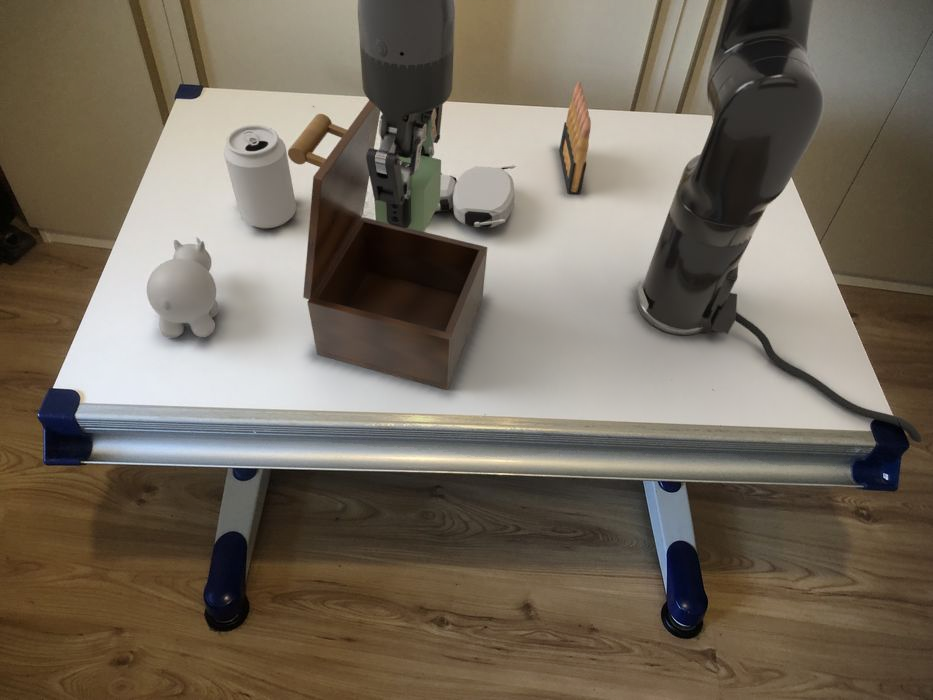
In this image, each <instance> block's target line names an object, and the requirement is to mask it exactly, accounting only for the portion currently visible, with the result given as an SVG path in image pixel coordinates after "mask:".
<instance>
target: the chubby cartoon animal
mask: <svg viewBox="0 0 933 700" xmlns="http://www.w3.org/2000/svg"><path fill="white" fill-rule="evenodd" d="M173 248H174V250H175V251H174V253H173V255H172V259H169V260H166V261H164V262H162V263H160V264H159V265H157V267H155V268H154V269H153V270H152V272H151V273H150V275H149V277H148V280H147V283H146V295H147V300H148V302H149V304H150V306H151V308H152V310H153V311H154V312H156V313H157V314H158V315H159V319H158V327H159V331H160V333H161V334H162V336H164V337H165V338H168V339H173V338H177V337H180V336H181V335H182V334H183V333H184V331H185V325H184V324H188V325H189V327H190V329H191V331H192V333H193V334H194V335H195V336H197V337H199V338H206V337H208V336H210V335H212V334H213V332H214V331H215V329H216V323H215V320H214V319H213V318H214V317H216V316H218V314H219V312H220V306H219V303H218V301H217V300H216V298H217V286H216V282H215V279H214V277H213V276H212V274H211V272H210V271H211V269H212V257H211V254H210V253H209V252H208V250H207V249H206V246H205V242H204V241H203V240H202V241H201V239H200V238H199V237H197V236H196V237H195V243H186V244H182V243H181V242H179V240H177V239H174V240H173Z"/></svg>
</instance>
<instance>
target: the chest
mask: <svg viewBox="0 0 933 700" xmlns="http://www.w3.org/2000/svg"><path fill="white" fill-rule="evenodd" d="M487 258H488V246H484V245H480V244H476V243H473V242H468V241H464V240H460V239H455V238H452V237H447V236H443V235H438V234H435V233H431V232H426V231H424V232H421V231H417V230H413V229H409V228H402V227H398V226H393V225H390V224H389V223H384V222H380V221H376V219H372V218H368V217H364V216H362V217H361V218H360V220H359V222H358V223H357V225H356V227H355V228H354V230H353V231H352V233H351V235H350V236H349V238H348V239H347V241H346V243H345V244H344V246H343V248H342V249H341V251H340V252H339V254H338V256H337V257H336V259H335V261H334V262H333V264H332V265H331V267H330V269H329V270H328V272H327V274H326V275H325V277H324V278H323V280H322V282H321V283H320V285H319V286H318V288H317V290H316V291H315V293H314V295H313V296H312V298H311V299H310V300H308V299H307V308H308V315H309V318H310V324H311V328H312V334H313V341H314V347H315V351H316V355H318V356H321V357H325V358H329V359H333V360H337V361H339V362H343V363H347V364H351V365H354V366H358V367H362V368H365V369H369V370H373V371H377V372H380V373H384V374H387V375H391V376H394V377H399V378H402V379H405V380H409V381H412V382H417V383H421V384H423V385H428V386H431V387H435V388H438V389H442V390H448V389H449V386H450V384H451V380H452V378H453V376H454V373H455V371H456V368H457V365H458V363H459V360H460V359H461V355H462V353H463V350H464V348H465V346H466V342H467V340H468V338H469V334H470V332H471V330H472V327H473V324H474V322H475V319H476V317H477V314H478V312H479V309H480V307H481V304H482V302H483V297H484V286H485V276H486V267H487Z"/></svg>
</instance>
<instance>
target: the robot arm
mask: <svg viewBox="0 0 933 700" xmlns="http://www.w3.org/2000/svg"><path fill="white" fill-rule="evenodd" d="M814 2H815V0H726V2H725V5H724V10H723V14H722V18H721V23H720V27H719V31H718V34H717V39H716V42H715V45H714V50H713V54H712V58H711V61H710V66H709V69H708V75H707V83H706V96H707V101H708V106H709V111H710V114H711V119H712V123H711V126H710V130H709V131H708V135H707V138H706V140H705V143H704V145H703V147H702V150H701V152H700V154H698V155H696V156H694V157H693V158H691V159H690V160H689V161H688V162H687V164H686V165H685V167H684V169H683V171H682V174H681V177H680V179H679V182H678V185H677V188H676V191H675V193H674V196H673V198H672V202H671V204H670V207H669V210H668V212H667V216H666V217H665V221H664V223H663V227H662V229H661V232H660V235H659V238H658V241H657V244H656V246H655V249H654V251H653V255H652V257H651V260H650V263H649V266H648V269H647V271H646V275H645V277H644V279H643V282H642V283H641V282H640V281H639V283H638V285H637V288H636V290H637V307H638V310H639V312H640V313H641V315H642V316H643V318H644V319H645V320H646V321H647V322H648V323H649V324H651V325H652V326H653V327H655V328H656V329H658V330H661V331H663V332H666V333H669V334H673V335H678V336H690V335H695V334H698V333H701V332H702V333H707V334H710V333H711V332H712V331H714V332H719V333H724V334H727V335H728V334H729V333H730V331H731V328H732V327H733V325H734V323H735V322H736V323H737V324H740V325H741V326H742V327H743V328H745V329H747V330H748V331H749V332H750V333H751V334H753V335H754V336H755V337H756V338H757V339H758V341H759V342H760V344H761V346H762V348H763V350H764V352H765V354H766V356H767V358H769V359H770V360H771V361H772V362H773V363H774V364H775V365H776V366H778V367H779V368H781V369H782V370H784V371H786V372H787V373H790V374H791V375H792V376H794V377H795V376H796V377H797V378H798V379H801V380H803V381H804V382H806V383H807V384H809V385H810V386H812V387H814V388H815V389H816V390H818V392H821V393H822V394H823V395H825V396H826V397H827V398H829V399H830V400H831V401H832V402H834V403H836V404H837V405H839V406H841V407H842V408H844V409H845V410H847V411H849V412H852V413H853V414H856V415H858V416H861V417H865V418H868V419H872V420H876V421H879V422H885V423H888V424H891V425H895V426H896V427H899V428H900V429H902V430H904V431H905V432H906V433H907V434H908V436H909V437H910V439H911V440H912V441H914V442H915V443H921V442H922V437H921V434H920V433H919V431H918V430H917V429H916V426H914V424H912V423H910V422H909V421H907V420H905V419H903V418H901V417H898V416H895V415H892V414H888V413H885V412H880V411H876V410H873V409H868V408H865V407H862V406H860V405H858V404H855V403H853V402H851V401H850V400H848V399H846V398H844V397H843V396H841V395H840V394H838V393H837V392H836V391H834V390H833V389H832V388H830V387H829V386H827V385H826V384H825V383H823V382H822V381H820V380H819V379H818V378H816V377H815V376H813V375H812V374H810V373H808V372H806V371H804V370H802V369H801V368H798V367H796V366H794V365H793V364H790V363H789V362H787V361H786V360H784V359H782V358H781V357H780V356H779V355H778V354H777V353H776V351H774V348H773V346H772V344H771V342H770V340H769V338H768V337H767V335H766V334H765V333H764V332H763V330H761V329H760V328H759V327H758V326H756V325H755V324H754V323H753V322H751V321H750V320H749V319H747V318H746V317H744V316H743V315H741V314H740V313H738V311H737V304H738V293H734V292H732V290H733V288H734V286H735V284H736V282H737V280H738V276H739V264H740V262H741V260H742V258H743V256H744V254H745V252H746V249H748V246H749V243H750V242H751V240H752V237H753V235H754V234H755V231H756V229H757V227H758V225H759V223H760V222H761V220H762V218H763V215H764V213H765V212H766V209H767V207H768V206H769V205H770V204H771V203H772V202H774V201H775V200H776V199H777V198H778V197H780V195H781V194H782V193H783V192H784V190H785V189H786V187H787V185H788V183H789V182H790V180H791V179H792V177H793V175H794V174H795V172H796V170H797V168H798V166H799V164H800V162H801V161H802V159H803V157H804V156H805V154H806V152H807V151H808V149H809V147H810V145H811V143H812V141H813V139H814V137H815V135H816V133H817V131H818V128H819V126H820V123H821V121H822V117H823V113H824V107H825V97H824V91H823V89H822V86H821V84H820V82H819V80H818V77H817V75H816V72H815V70H814V67H813V65H812V62H811V60H810V57H809V36H810V35H809V34H810V28H811V27H810V25H811V20H812V14H813V8H814V4H815V3H814ZM455 3H456V1H455V0H357V22H358V24H357V25H358V37H359V52H360V53H359V55H360V68H361V83H362V90H363V93H364V95H365V97H366V98H367V99H368V101H369V100H370V101H371V102H372V103H373V104H374V105H376V106H377V107H378V108H379V110H380V113H381V114H380V117H379V122H378V135H379V137H380V144H379V148H374V149H373V148H369V149H368V151H367V154H366V161H367V166H368V171H369V175H370V176H369V181H370V184H371V189H372V194H373V199H374V201H375V200H379V201H383V202H386V208H387V222H388V223H389V224H390V225H393V226H398V227H402V228H408V227H409V225H410V223H411V192H412V191H411V188H412V179H413V175H414V174H415V173H416V172H417V171H418V170H419V166H420V157H421V155H422V156H427V157H431V158H434V155H435V148H434V147H435V146H434V144H438V143H439V141H440V139H441V125H442V118H443V117H442V116H443V105H444V104H445V103H446V102H447V101H448V100H449V98H450V97H451V95H452V91H453V81H454V80H453V79H454V77H453V75H454V57H455V56H454V53H455V51H454V50H455V28H456V27H455V26H456V25H455V24H456V4H455ZM399 157H404V158H411V162H410V163H408V162H404V161H402V160H400V159H399ZM401 173H402V174H403V175H404V181H402V174H401ZM894 418H895V419H894ZM897 420H898V421H897ZM898 422H899V423H900V425H901V427H900V425H899V423H898Z"/></svg>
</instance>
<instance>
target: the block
mask: <svg viewBox="0 0 933 700" xmlns="http://www.w3.org/2000/svg"><path fill="white" fill-rule="evenodd" d="M399 159H400V160H402V161H404V162H408V163H410V162H411V158H404V157H399ZM441 173H442V159H439V158H435V157H432V158H431V157H427V156H422V155H421V157H420V166H419V170H418V171H417V172H416V173H415V174H414V175H413V179H412V188H411V191H412V192H411V223H410V225H409V227H408V228H409V229H413V230H417V231H421V232H426V230H427V227H428V225H429V224H430V221H431V220H432V217H433V216H434V214H435V210H436V208H437V206H438V204H439V202H440V186H441ZM401 174H402V173H401ZM402 181H404V175H403V174H402ZM374 213H375V214H374V215H375V220H376V221H380V222H384V223H388V222H387V208H386V202H383V201H379V200H375V199H374Z"/></svg>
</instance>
